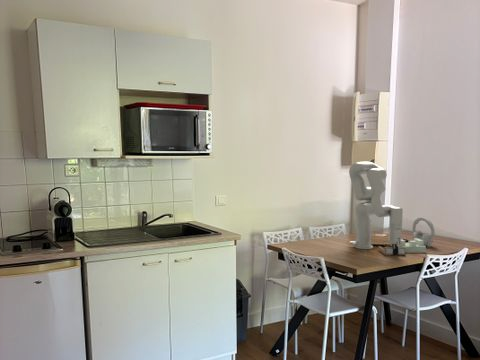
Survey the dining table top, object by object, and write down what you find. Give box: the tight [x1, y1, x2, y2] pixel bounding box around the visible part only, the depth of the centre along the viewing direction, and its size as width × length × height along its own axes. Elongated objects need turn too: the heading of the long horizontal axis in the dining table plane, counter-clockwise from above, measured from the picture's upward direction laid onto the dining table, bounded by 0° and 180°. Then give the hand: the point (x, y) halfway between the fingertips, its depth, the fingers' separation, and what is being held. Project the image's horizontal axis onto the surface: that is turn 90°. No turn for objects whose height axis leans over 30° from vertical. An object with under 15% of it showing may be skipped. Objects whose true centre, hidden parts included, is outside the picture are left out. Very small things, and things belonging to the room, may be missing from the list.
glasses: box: [378, 245, 406, 256], centre depth 254 cm, size 13×13×4 cm
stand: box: [396, 238, 427, 254], centre depth 261 cm, size 12×15×7 cm
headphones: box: [411, 216, 435, 248], centre depth 275 cm, size 19×8×20 cm, turn 17°
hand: (394, 253), depth 249 cm, fingers closed on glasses
